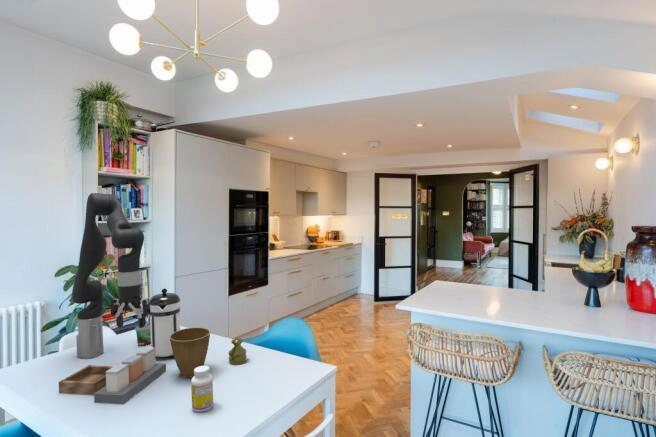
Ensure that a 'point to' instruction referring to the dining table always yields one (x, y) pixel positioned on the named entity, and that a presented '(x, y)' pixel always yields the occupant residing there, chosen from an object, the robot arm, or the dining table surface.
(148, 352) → the block
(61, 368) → the dining table surface
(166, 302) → the coffee press
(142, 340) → the food container
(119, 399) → the frame
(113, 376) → the block
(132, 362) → the block
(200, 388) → the supplement bottle
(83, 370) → the tray
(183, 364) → the plant pot
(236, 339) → the olive green lumpy piece
